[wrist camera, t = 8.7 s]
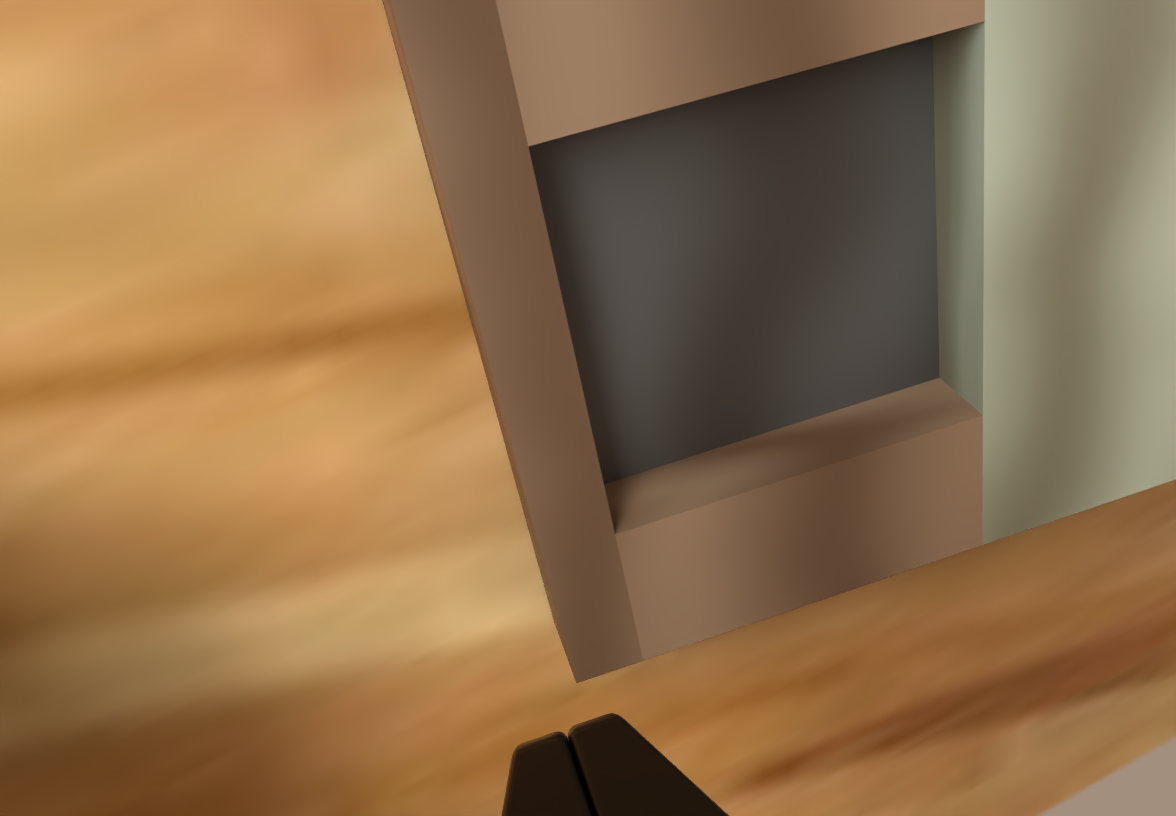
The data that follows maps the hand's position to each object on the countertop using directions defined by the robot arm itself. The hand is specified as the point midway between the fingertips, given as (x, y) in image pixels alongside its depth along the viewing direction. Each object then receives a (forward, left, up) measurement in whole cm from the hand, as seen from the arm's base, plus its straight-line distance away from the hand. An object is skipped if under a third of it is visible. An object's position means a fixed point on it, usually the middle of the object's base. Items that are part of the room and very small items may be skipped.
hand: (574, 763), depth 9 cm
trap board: (+15, +11, -13) cm, 23 cm away
